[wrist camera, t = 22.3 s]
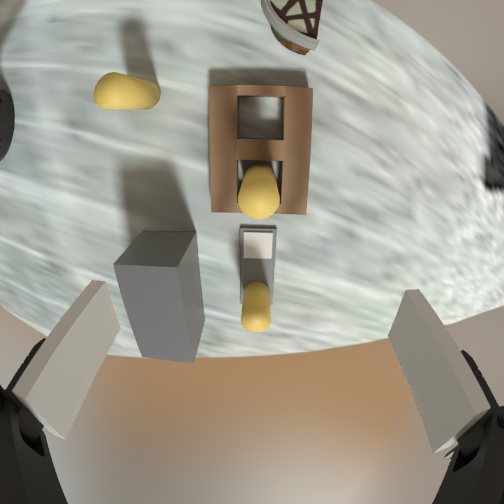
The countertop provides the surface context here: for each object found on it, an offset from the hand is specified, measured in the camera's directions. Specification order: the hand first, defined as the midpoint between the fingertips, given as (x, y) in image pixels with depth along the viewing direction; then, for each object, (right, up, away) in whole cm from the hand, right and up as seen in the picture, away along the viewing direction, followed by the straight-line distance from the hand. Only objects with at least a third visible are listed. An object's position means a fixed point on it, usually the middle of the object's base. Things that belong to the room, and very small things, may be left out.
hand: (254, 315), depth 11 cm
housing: (-12, -2, +31) cm, 34 cm away
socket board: (+1, +16, +22) cm, 27 cm away
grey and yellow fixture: (+1, 0, +30) cm, 30 cm away
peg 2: (+1, +12, +24) cm, 27 cm away
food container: (+4, +32, +14) cm, 35 cm away
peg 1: (-14, +23, +19) cm, 33 cm away
